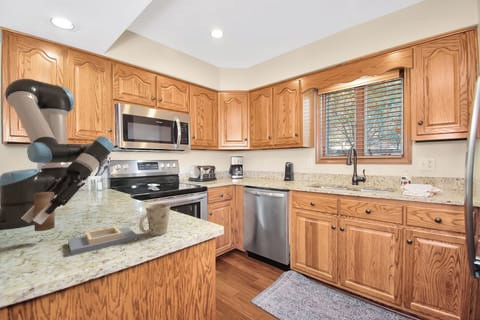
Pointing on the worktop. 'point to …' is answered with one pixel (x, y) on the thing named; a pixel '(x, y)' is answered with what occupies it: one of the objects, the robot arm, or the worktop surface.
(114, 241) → the board
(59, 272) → the worktop surface
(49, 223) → the post
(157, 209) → the mug
